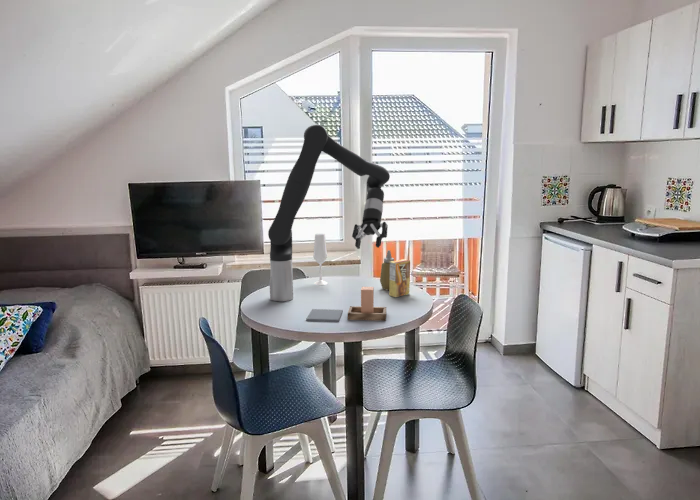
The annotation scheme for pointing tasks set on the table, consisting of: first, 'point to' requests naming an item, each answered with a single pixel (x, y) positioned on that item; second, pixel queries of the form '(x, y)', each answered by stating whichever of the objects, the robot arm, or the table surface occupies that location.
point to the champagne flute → (320, 254)
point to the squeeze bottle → (386, 271)
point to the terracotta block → (367, 300)
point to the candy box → (399, 278)
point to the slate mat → (324, 315)
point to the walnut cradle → (367, 314)
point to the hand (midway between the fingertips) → (367, 247)
